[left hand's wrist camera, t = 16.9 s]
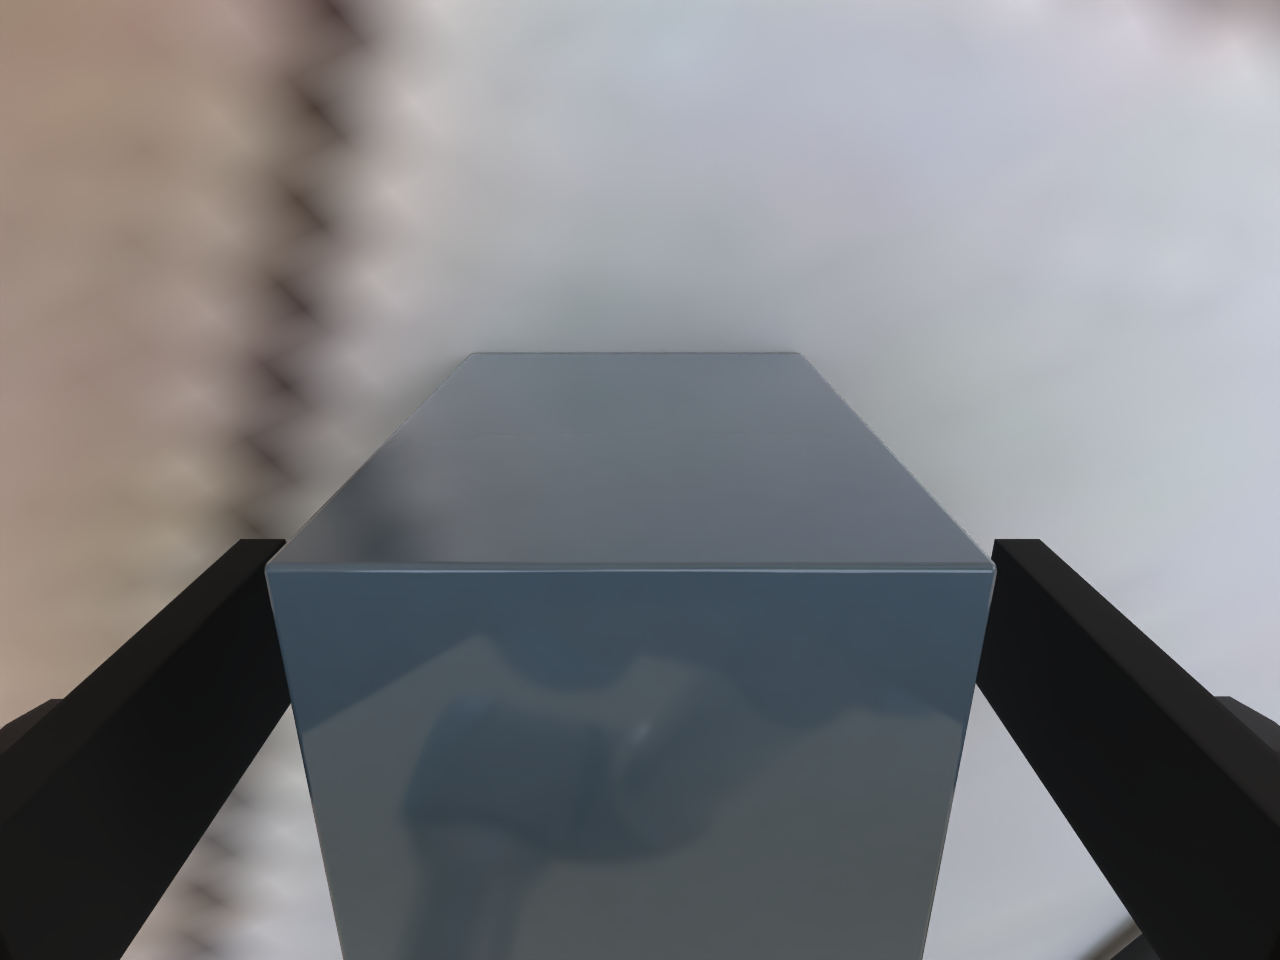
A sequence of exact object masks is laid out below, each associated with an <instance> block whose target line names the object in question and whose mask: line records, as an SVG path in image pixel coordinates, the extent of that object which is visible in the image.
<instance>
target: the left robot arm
mask: <svg viewBox="0 0 1280 960" xmlns="http://www.w3.org/2000/svg"><path fill="white" fill-rule="evenodd" d="M285 544H286V541H285V539H240V540H239V541H238V542H237V543H236V544H235V545H234V546H233V547H231V548H230V549H229V550H228V551H227V552H226V553H225V554H224V555H223V556H221V557H220V558H219V559H218V560H217V561H216V562H215V563H214V564H213V565H211V566H210V567H209V568H208V569H207V570H206V571H205V572H204V573H203V574H201V575H200V576H199V577H198V578H197V579H196V580H195V581H194V582H193V583H191V584H190V585H189V586H188V587H187V588H186V589H185V590H184V591H183V592H181V593H180V594H179V595H178V596H177V597H176V598H175V599H174V600H173V601H171V602H170V603H169V604H168V605H167V606H166V607H165V608H164V609H163V610H162V611H160V612H159V613H158V614H157V615H156V616H155V617H154V618H153V619H152V620H150V621H149V622H148V623H147V624H146V625H145V626H144V627H143V628H142V629H140V630H139V631H138V632H137V633H136V634H135V635H134V636H133V637H132V638H130V639H129V640H128V641H127V642H126V643H125V644H124V645H123V646H122V647H120V648H119V649H118V650H117V651H116V652H115V653H114V654H113V655H112V656H110V657H109V658H108V659H107V660H106V661H105V662H104V663H103V664H102V665H100V666H99V667H98V668H97V669H96V670H95V671H94V672H93V673H92V674H91V675H89V676H88V677H87V678H86V679H85V680H84V681H83V682H82V683H81V684H79V685H78V686H77V687H76V688H75V689H74V690H73V691H72V692H71V693H69V694H68V695H67V696H66V697H65V698H64V699H50V700H49V701H47V702H45V703H43V704H42V705H40V706H38V707H36V708H35V709H33V710H31V711H29V712H27V713H26V714H24V715H22V716H20V717H19V718H17V719H15V720H13V721H12V722H10V723H8V724H6V725H5V726H4V727H3V728H2V729H0V960H120V959H121V957H122V956H123V954H124V953H125V951H126V950H127V948H128V947H129V945H130V944H131V942H132V941H133V939H134V938H135V936H136V935H137V933H138V932H139V930H140V929H141V927H142V926H143V924H144V923H145V921H146V920H147V918H148V917H149V915H150V914H151V912H152V911H153V909H154V908H155V906H156V905H157V903H158V902H159V900H160V899H161V897H162V896H163V894H164V893H165V891H166V890H167V888H168V887H169V885H170V884H171V882H172V881H173V879H174V878H175V876H176V875H177V873H178V872H179V870H180V869H181V867H182V866H183V864H184V863H185V861H186V860H187V858H188V857H189V855H190V854H191V852H192V851H193V849H194V848H195V846H196V845H197V843H198V842H199V840H200V839H201V837H202V836H203V834H204V833H205V831H206V830H207V828H208V827H209V825H210V824H211V822H212V821H213V819H214V818H215V816H216V815H217V813H218V812H219V810H220V809H221V807H222V806H223V804H224V803H225V801H226V800H227V798H228V797H229V795H230V794H231V792H232V791H233V789H234V788H235V786H236V785H237V783H238V782H239V780H240V779H241V777H242V776H243V774H244V773H245V771H246V770H247V768H248V767H249V765H250V764H251V762H252V761H253V759H254V758H255V756H256V755H257V753H258V752H259V750H260V749H261V747H262V746H263V744H264V743H265V741H266V740H267V738H268V737H269V735H270V734H271V732H272V731H273V729H274V728H275V726H276V725H277V723H278V722H279V720H280V719H281V717H282V716H283V714H284V713H285V711H286V710H287V708H288V707H289V705H290V704H291V700H290V695H289V690H288V685H287V680H286V675H285V670H284V665H283V660H282V655H281V650H280V646H279V641H278V636H277V631H276V626H275V621H274V616H273V611H272V606H271V601H270V596H269V591H268V587H267V582H266V577H265V567H266V564H267V563H268V562H269V561H270V559H271V558H272V557H273V556H274V555H275V554H276V553H277V552H278V551H279V550H280V549H281V548H282V547H283V546H284V545H285ZM991 560H992V561H993V562H994V563H995V565H996V569H997V574H996V579H995V584H994V590H993V595H992V600H991V605H990V610H989V616H988V621H987V626H986V631H985V636H984V641H983V647H982V652H981V657H980V662H979V667H978V673H977V678H976V684H977V685H978V687H979V688H980V690H981V691H982V693H983V694H984V696H985V697H986V699H987V700H988V702H989V703H990V705H991V706H992V708H993V709H994V711H995V712H996V714H997V715H998V717H999V718H1000V720H1001V721H1002V723H1003V724H1004V726H1005V727H1006V729H1007V730H1008V732H1009V733H1010V735H1011V736H1012V738H1013V739H1014V741H1015V742H1016V744H1017V745H1018V747H1019V748H1020V750H1021V751H1022V753H1023V754H1024V756H1025V757H1026V759H1027V760H1028V762H1029V763H1030V765H1031V766H1032V768H1033V769H1034V771H1035V772H1036V774H1037V775H1038V777H1039V778H1040V780H1041V781H1042V783H1043V784H1044V786H1045V787H1046V789H1047V790H1048V792H1049V793H1050V795H1051V796H1052V798H1053V799H1054V801H1055V802H1056V804H1057V805H1058V807H1059V809H1060V810H1061V811H1062V813H1063V815H1064V816H1065V818H1066V819H1067V821H1068V822H1069V824H1070V825H1071V827H1072V828H1073V830H1074V831H1075V833H1076V834H1077V836H1078V837H1079V839H1080V840H1081V842H1082V843H1083V845H1084V846H1085V848H1086V849H1087V851H1088V852H1089V854H1090V855H1091V857H1092V858H1093V860H1094V861H1095V863H1096V864H1097V866H1098V867H1099V869H1100V870H1101V872H1102V873H1103V875H1104V876H1105V878H1106V879H1107V881H1108V882H1109V884H1110V885H1111V887H1112V888H1113V890H1114V891H1115V893H1116V894H1117V896H1118V897H1119V899H1120V900H1121V902H1122V903H1123V905H1124V906H1125V908H1126V909H1127V911H1128V912H1129V914H1130V915H1131V917H1132V918H1133V920H1134V921H1135V923H1136V924H1137V926H1138V927H1139V929H1140V930H1141V932H1142V934H1141V935H1140V936H1139V937H1137V938H1136V939H1135V940H1134V941H1133V942H1131V943H1130V944H1129V945H1128V946H1126V947H1125V948H1124V949H1123V950H1122V951H1120V952H1119V953H1118V954H1117V955H1116V956H1114V957H1113V958H1112V959H1111V960H1280V726H1279V725H1278V724H1277V723H1275V722H1274V721H1272V720H1270V719H1269V718H1267V717H1265V716H1263V715H1262V714H1260V713H1258V712H1256V711H1255V710H1253V709H1251V708H1249V707H1247V706H1246V705H1244V704H1242V703H1240V702H1239V701H1237V700H1235V699H1233V698H1231V697H1214V696H1213V695H1212V694H1211V693H1209V692H1208V691H1207V690H1206V689H1205V688H1204V687H1203V686H1202V685H1201V684H1199V683H1198V682H1197V681H1196V680H1195V679H1194V678H1193V677H1192V676H1191V675H1190V674H1188V673H1187V672H1186V671H1185V670H1184V669H1183V668H1182V667H1181V666H1180V665H1178V664H1177V663H1176V662H1175V661H1174V660H1173V659H1172V658H1171V657H1170V656H1168V655H1167V654H1166V653H1165V652H1164V651H1163V650H1162V649H1161V648H1160V647H1158V646H1157V645H1156V644H1155V643H1154V642H1153V641H1152V640H1151V639H1150V638H1148V637H1147V636H1146V635H1145V634H1144V633H1143V632H1142V631H1141V630H1140V629H1138V628H1137V627H1136V626H1135V625H1134V624H1133V623H1132V622H1131V621H1130V620H1128V619H1127V618H1126V617H1125V616H1124V615H1123V614H1122V613H1121V612H1120V611H1119V610H1117V609H1116V608H1115V607H1114V606H1113V605H1112V604H1111V603H1110V602H1109V601H1107V600H1106V599H1105V598H1104V597H1103V596H1102V595H1101V594H1100V593H1099V592H1097V591H1096V590H1095V589H1094V588H1093V587H1092V586H1091V585H1090V584H1089V583H1087V582H1086V581H1085V580H1084V579H1083V578H1082V577H1081V576H1080V575H1079V574H1077V573H1076V572H1075V571H1074V570H1073V569H1072V568H1071V567H1070V566H1069V565H1067V564H1066V563H1065V562H1064V561H1063V560H1062V559H1061V558H1060V557H1059V556H1057V555H1056V554H1055V553H1054V552H1053V551H1052V550H1051V549H1050V548H1049V547H1048V546H1046V545H1045V544H1044V543H1043V542H1042V541H1041V540H1040V539H995V541H994V546H993V551H992V557H991Z"/></svg>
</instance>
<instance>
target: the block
mask: <svg viewBox="0 0 1280 960" xmlns="http://www.w3.org/2000/svg"><path fill="white" fill-rule="evenodd" d="M996 574H997V569H996V565H995V563H994V562H993V561H992V560H991V559H990V558H989V557H988V556H987V555H986V554H985V552H984V551H983V550H982V549H981V548H980V547H979V546H978V545H977V544H976V543H975V542H974V541H973V539H972V538H971V537H970V536H969V535H968V534H967V533H966V532H965V531H964V530H963V529H962V528H961V526H960V525H959V524H958V523H957V522H956V521H955V520H954V519H953V518H952V517H951V516H950V515H949V513H948V512H947V511H946V510H945V509H944V508H943V507H942V506H941V505H940V504H939V503H938V502H937V500H936V499H935V498H934V497H933V496H932V495H931V494H930V493H929V492H928V491H927V490H926V489H925V487H924V486H923V485H922V484H921V483H920V482H919V481H918V480H917V479H916V478H915V477H914V476H913V474H912V473H911V472H910V471H909V470H908V469H907V468H906V467H905V466H904V465H903V464H902V463H901V461H900V460H899V459H898V458H897V457H896V456H895V455H894V454H893V453H892V452H891V451H890V450H889V449H888V447H887V446H886V445H885V444H884V443H883V442H882V441H881V440H880V439H879V438H878V437H877V436H876V434H875V433H874V432H873V431H872V430H871V429H870V428H869V427H868V426H867V425H866V424H865V423H864V421H863V420H862V419H861V418H860V417H859V416H858V415H857V414H856V413H855V412H854V411H853V410H852V408H851V407H850V406H849V405H848V404H847V403H846V402H845V401H844V400H843V399H842V398H841V397H840V395H839V394H838V393H837V392H836V391H835V390H834V389H833V388H832V387H831V386H830V385H829V384H828V382H827V381H826V380H825V379H824V378H823V377H822V376H821V375H820V374H819V373H818V372H817V371H816V369H815V368H814V367H813V366H812V365H811V364H810V363H809V362H808V361H807V360H806V359H805V358H804V356H803V355H802V354H799V353H473V354H471V355H470V356H469V357H468V358H467V359H466V360H465V361H464V362H463V363H462V364H461V365H460V366H459V367H458V368H457V369H456V370H455V371H454V372H453V373H452V374H451V375H450V376H449V377H448V378H447V379H446V380H445V381H444V382H443V383H442V384H441V385H440V386H439V387H438V388H437V390H436V391H435V392H434V393H433V394H432V395H431V396H430V397H429V398H428V399H427V400H426V401H425V402H424V403H423V404H422V405H421V406H420V407H419V408H418V409H417V410H416V411H415V412H414V413H413V414H412V415H411V416H410V417H409V418H408V419H407V420H406V421H405V422H404V423H403V424H402V425H401V426H400V427H399V428H398V429H397V430H396V432H395V433H394V434H393V435H392V436H391V437H390V438H389V439H388V440H387V441H386V442H385V443H384V444H383V445H382V446H381V447H380V448H379V449H378V450H377V451H376V452H375V453H374V454H373V455H372V456H371V457H370V458H369V459H368V460H367V461H366V462H365V463H364V464H363V465H362V466H361V467H360V468H359V469H358V470H357V471H356V472H355V473H354V475H353V476H352V477H351V478H350V479H349V480H348V481H347V482H346V483H345V484H344V485H343V486H342V487H341V488H340V489H339V490H338V491H337V492H336V493H335V494H334V495H333V496H332V497H331V498H330V499H329V500H328V501H327V502H326V503H325V504H324V505H323V506H322V507H321V508H320V509H319V510H318V511H317V512H316V513H315V514H314V515H313V516H312V518H311V519H310V520H309V521H308V522H307V523H306V524H305V525H304V526H303V527H302V528H301V529H300V530H299V531H298V532H297V533H296V534H295V535H294V536H293V537H292V538H291V539H290V540H289V541H288V542H287V543H286V544H285V545H284V546H283V547H282V548H281V549H280V550H279V551H278V552H277V553H276V554H275V555H274V556H273V557H272V558H271V559H270V561H269V562H268V563H267V564H266V567H265V577H266V582H267V587H268V591H269V596H270V601H271V606H272V611H273V616H274V621H275V626H276V631H277V636H278V641H279V646H280V650H281V655H282V660H283V665H284V670H285V675H286V680H287V685H288V690H289V695H290V700H291V704H292V709H293V714H294V719H295V724H296V729H297V734H298V739H299V744H300V749H301V754H302V759H303V763H304V768H305V773H306V778H307V783H308V788H309V793H310V798H311V803H312V808H313V813H314V818H315V822H316V827H317V832H318V837H319V842H320V847H321V852H322V857H323V862H324V867H325V872H326V876H327V881H328V886H329V891H330V896H331V901H332V906H333V911H334V916H335V921H336V926H337V931H338V935H339V940H340V945H341V950H342V955H343V960H922V957H923V952H924V947H925V942H926V937H927V931H928V926H929V921H930V916H931V911H932V906H933V900H934V895H935V890H936V885H937V880H938V874H939V869H940V864H941V859H942V854H943V849H944V843H945V838H946V833H947V828H948V823H949V818H950V812H951V807H952V802H953V797H954V792H955V786H956V781H957V776H958V771H959V766H960V761H961V755H962V750H963V745H964V740H965V735H966V729H967V724H968V719H969V714H970V709H971V704H972V698H973V693H974V688H975V683H976V678H977V673H978V667H979V662H980V657H981V652H982V647H983V641H984V636H985V631H986V626H987V621H988V616H989V610H990V605H991V600H992V595H993V590H994V584H995V579H996Z"/></svg>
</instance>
